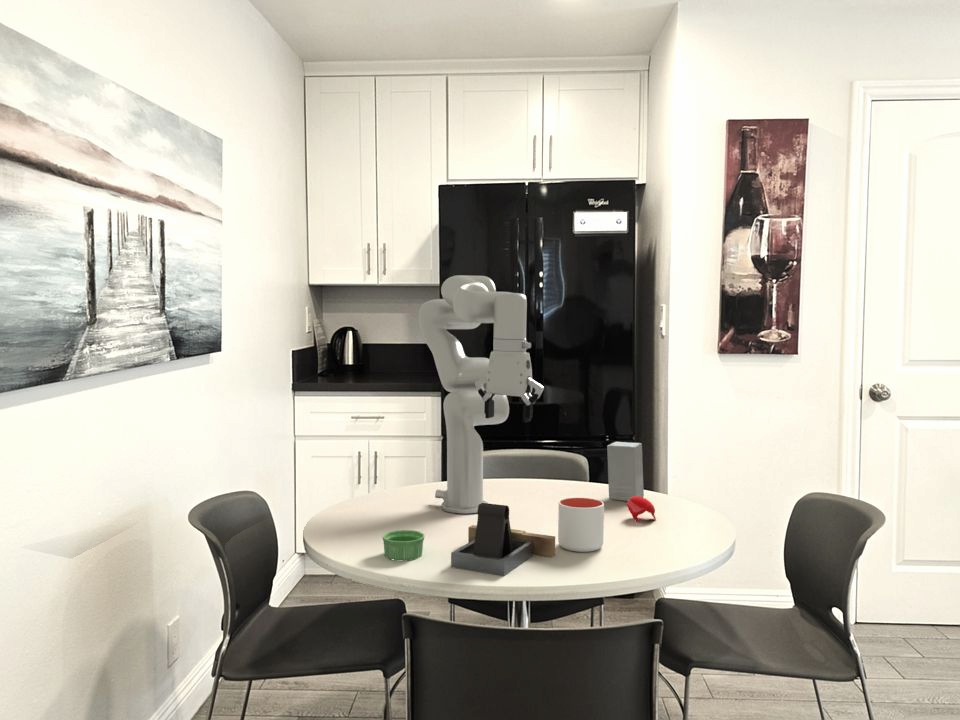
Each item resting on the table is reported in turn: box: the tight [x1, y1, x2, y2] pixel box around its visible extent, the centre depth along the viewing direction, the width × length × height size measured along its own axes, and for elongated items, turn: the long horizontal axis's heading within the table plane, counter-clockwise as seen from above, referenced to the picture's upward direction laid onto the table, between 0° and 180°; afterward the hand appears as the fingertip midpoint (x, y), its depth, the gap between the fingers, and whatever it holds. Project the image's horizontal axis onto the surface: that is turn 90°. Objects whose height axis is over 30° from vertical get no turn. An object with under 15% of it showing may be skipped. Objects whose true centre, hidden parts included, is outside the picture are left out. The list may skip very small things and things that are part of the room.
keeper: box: [450, 539, 534, 577], centre depth 166 cm, size 12×15×3 cm
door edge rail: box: [467, 524, 556, 558], centre depth 174 cm, size 20×2×4 cm, turn 64°
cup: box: [557, 497, 605, 553], centre depth 176 cm, size 10×10×10 cm
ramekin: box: [382, 529, 425, 561], centre depth 170 cm, size 9×9×4 cm
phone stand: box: [473, 502, 514, 559], centre depth 166 cm, size 9×6×12 cm, turn 154°
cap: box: [626, 496, 657, 523], centre depth 199 cm, size 8×6×6 cm
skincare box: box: [606, 441, 645, 502], centre depth 221 cm, size 8×7×16 cm
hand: (508, 419), depth 184 cm, fingers open, 9 cm apart
